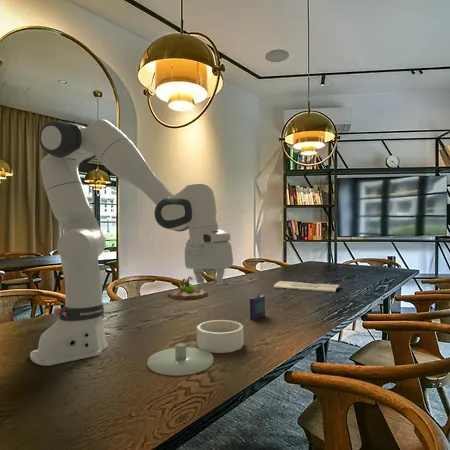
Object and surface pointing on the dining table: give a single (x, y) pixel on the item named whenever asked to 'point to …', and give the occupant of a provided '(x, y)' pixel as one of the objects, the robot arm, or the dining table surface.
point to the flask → (257, 307)
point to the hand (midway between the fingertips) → (209, 283)
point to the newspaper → (307, 286)
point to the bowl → (220, 336)
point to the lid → (180, 360)
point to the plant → (187, 291)
